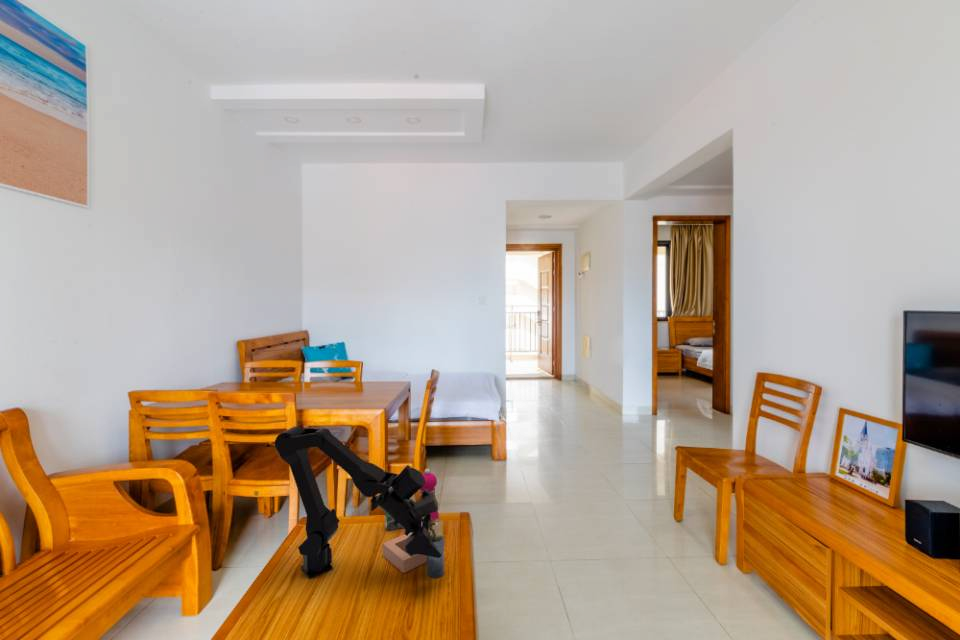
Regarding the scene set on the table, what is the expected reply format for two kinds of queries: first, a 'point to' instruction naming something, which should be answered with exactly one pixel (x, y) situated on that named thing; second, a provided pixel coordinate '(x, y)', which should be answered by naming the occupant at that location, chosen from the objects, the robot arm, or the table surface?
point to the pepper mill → (430, 488)
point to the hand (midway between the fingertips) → (440, 546)
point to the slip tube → (437, 564)
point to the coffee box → (390, 522)
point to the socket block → (401, 554)
